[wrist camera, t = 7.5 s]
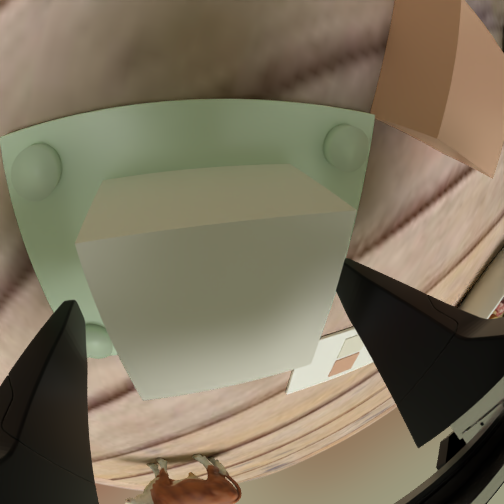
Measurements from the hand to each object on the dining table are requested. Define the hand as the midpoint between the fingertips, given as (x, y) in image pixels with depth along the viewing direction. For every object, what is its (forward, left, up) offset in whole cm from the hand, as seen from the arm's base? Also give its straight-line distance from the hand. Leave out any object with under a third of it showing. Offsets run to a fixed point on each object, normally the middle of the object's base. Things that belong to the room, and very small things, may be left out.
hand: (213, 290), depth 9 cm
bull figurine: (+6, +29, -3) cm, 30 cm away
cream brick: (0, 0, -2) cm, 2 cm away
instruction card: (-11, +12, -3) cm, 17 cm away
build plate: (0, 0, -3) cm, 3 cm away
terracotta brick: (-11, -8, -3) cm, 14 cm away
